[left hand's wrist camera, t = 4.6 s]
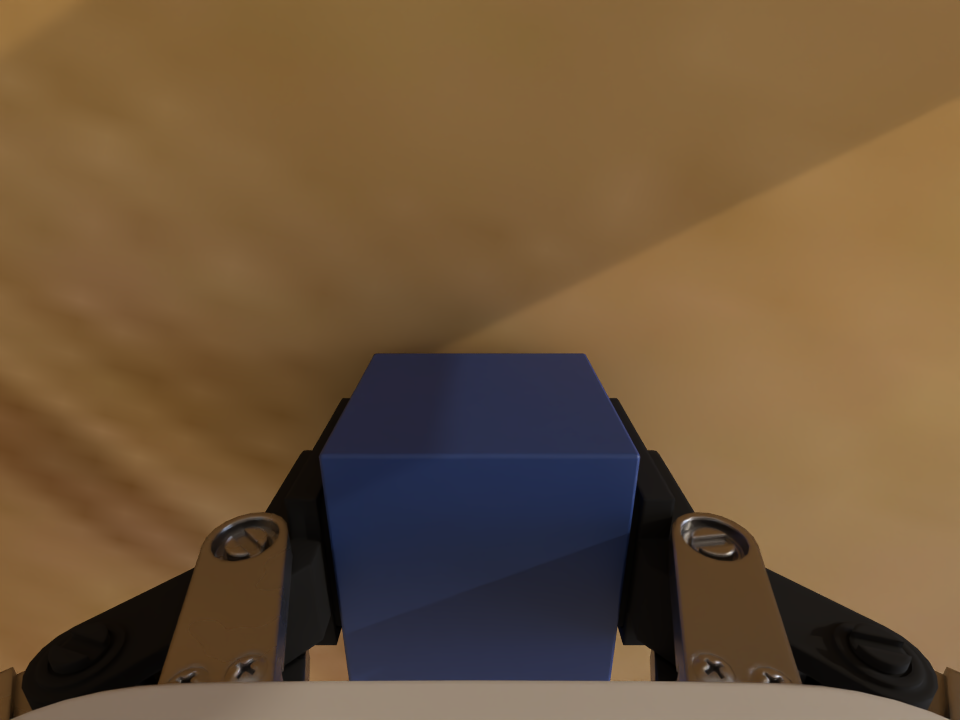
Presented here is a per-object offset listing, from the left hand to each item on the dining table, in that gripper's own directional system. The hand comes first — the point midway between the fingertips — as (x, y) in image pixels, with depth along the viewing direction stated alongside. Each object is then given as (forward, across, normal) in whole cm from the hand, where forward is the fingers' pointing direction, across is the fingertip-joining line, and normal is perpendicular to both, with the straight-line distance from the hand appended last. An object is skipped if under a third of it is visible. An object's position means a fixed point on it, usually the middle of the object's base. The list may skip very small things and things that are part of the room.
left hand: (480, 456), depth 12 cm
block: (0, 0, 0) cm, 0 cm away
